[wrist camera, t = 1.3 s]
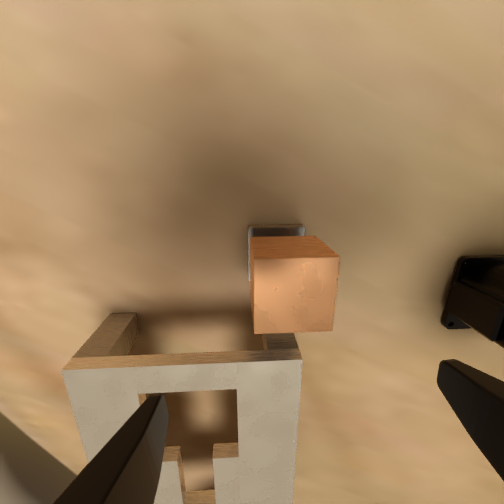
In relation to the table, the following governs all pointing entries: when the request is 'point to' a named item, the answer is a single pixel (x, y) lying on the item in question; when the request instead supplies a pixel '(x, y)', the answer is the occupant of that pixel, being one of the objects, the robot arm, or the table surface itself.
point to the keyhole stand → (196, 379)
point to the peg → (290, 280)
